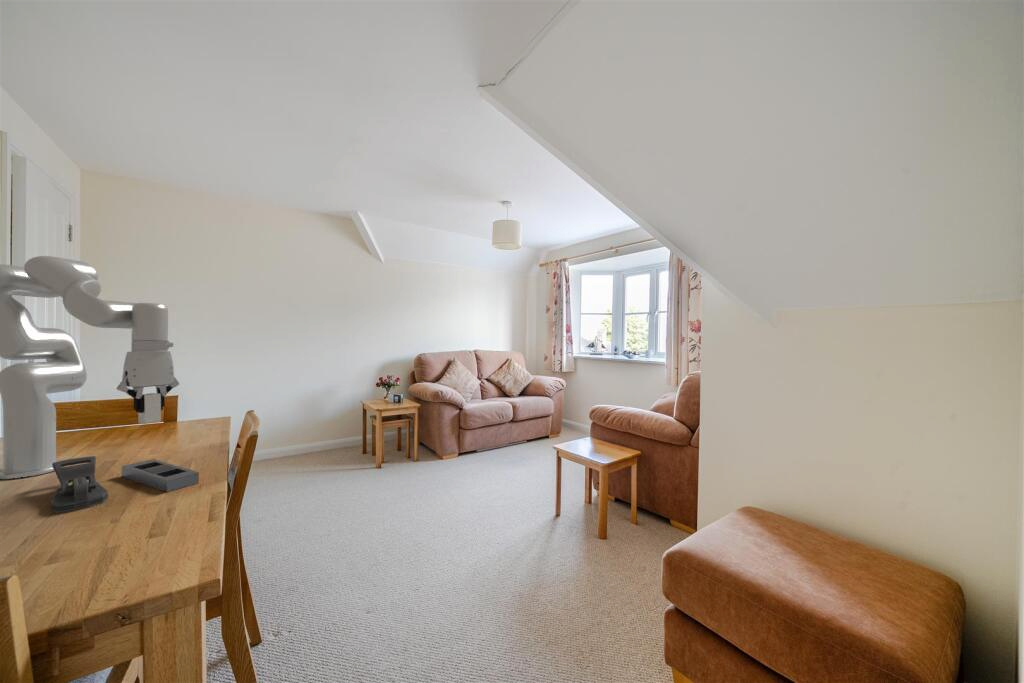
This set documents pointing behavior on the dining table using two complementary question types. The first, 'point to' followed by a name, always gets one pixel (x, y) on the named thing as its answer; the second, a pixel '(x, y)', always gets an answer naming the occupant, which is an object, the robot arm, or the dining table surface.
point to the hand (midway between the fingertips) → (149, 410)
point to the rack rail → (160, 475)
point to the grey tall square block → (151, 408)
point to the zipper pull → (77, 485)
